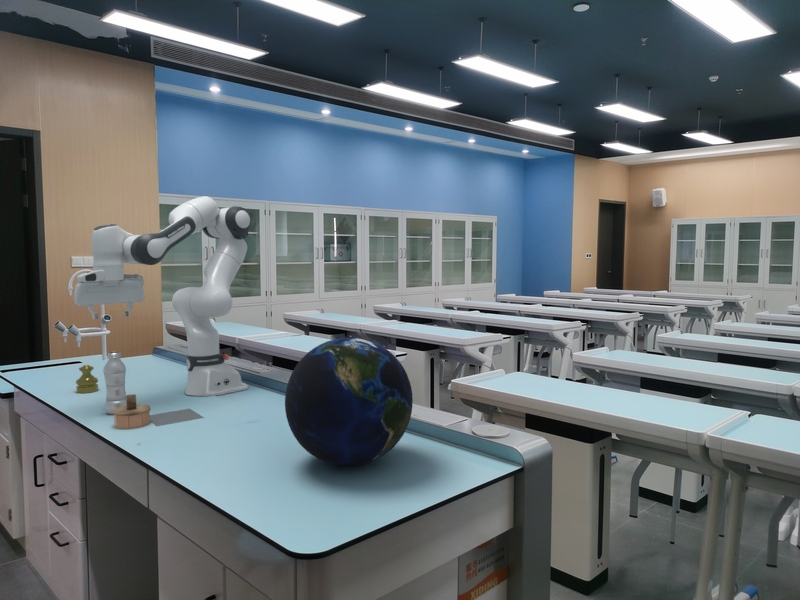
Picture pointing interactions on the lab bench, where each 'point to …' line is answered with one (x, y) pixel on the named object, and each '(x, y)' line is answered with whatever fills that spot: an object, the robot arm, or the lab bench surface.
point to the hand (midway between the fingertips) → (111, 317)
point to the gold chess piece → (86, 380)
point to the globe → (348, 401)
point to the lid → (131, 407)
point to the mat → (174, 417)
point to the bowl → (131, 421)
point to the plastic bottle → (114, 382)
